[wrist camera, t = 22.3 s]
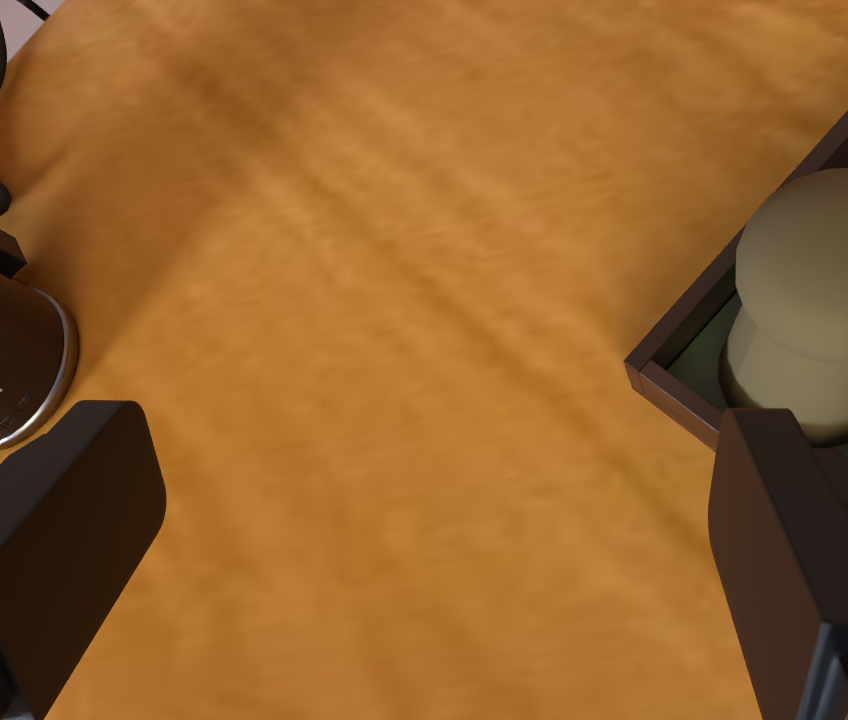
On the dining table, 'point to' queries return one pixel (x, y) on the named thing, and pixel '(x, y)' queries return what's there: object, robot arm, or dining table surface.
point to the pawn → (794, 308)
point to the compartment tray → (709, 326)
